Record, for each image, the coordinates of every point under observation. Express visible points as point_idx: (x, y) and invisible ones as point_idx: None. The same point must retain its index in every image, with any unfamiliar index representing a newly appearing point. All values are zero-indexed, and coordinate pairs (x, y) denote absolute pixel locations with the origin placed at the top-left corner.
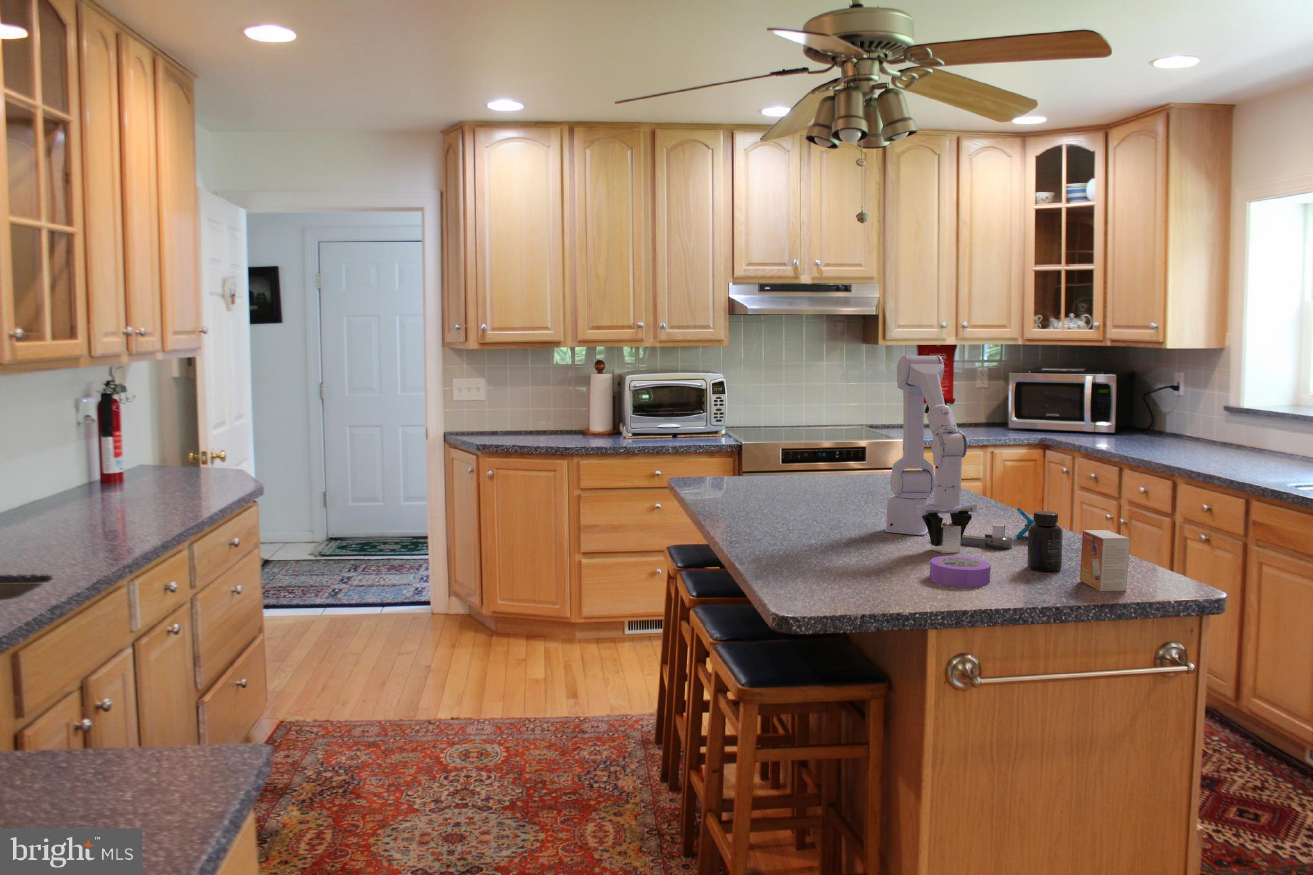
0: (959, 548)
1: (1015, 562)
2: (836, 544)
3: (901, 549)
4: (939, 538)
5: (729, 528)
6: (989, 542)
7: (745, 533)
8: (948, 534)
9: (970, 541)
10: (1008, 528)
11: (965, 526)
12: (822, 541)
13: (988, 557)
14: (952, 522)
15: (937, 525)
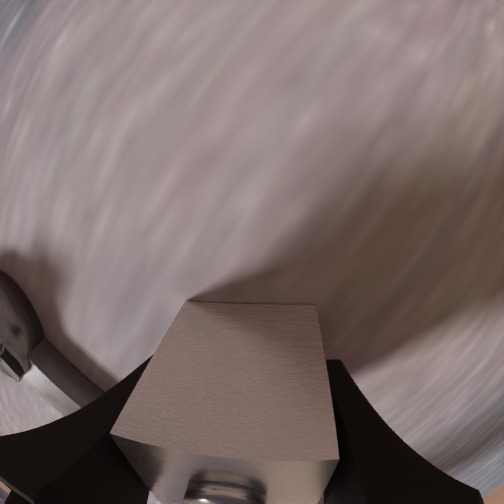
0: (183, 313)
1: (56, 21)
2: (491, 445)
3: (423, 406)
4: (333, 391)
5: (482, 496)
6: (20, 326)
7: (498, 480)
8: (268, 397)
9: (80, 390)
10: (5, 421)
11: (71, 419)
12: (482, 462)
13: (94, 132)
14: (144, 497)
15: (406, 470)
